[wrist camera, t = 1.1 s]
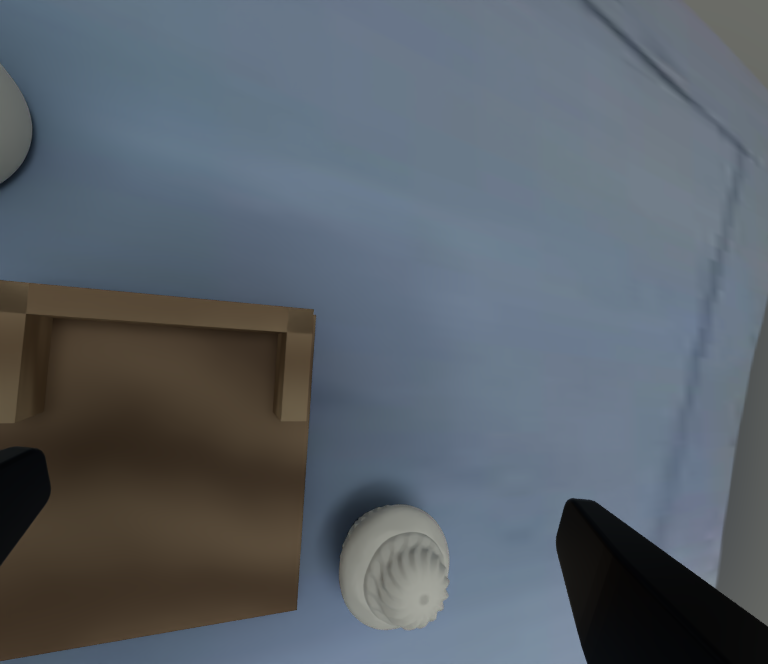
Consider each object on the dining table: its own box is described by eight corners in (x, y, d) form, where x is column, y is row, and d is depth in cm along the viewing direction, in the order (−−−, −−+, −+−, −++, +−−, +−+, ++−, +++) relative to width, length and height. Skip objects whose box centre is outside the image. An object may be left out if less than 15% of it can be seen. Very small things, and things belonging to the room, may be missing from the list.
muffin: (433, 505, 27) (502, 555, 21) (393, 602, 26) (454, 688, 19) (350, 470, 25) (399, 514, 19) (303, 573, 24) (337, 659, 17)
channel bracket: (294, 601, 24) (308, 646, 20) (-31, 655, 18) (-89, 728, 15) (312, 315, 24) (329, 311, 21) (8, 289, 19) (-38, 276, 16)
